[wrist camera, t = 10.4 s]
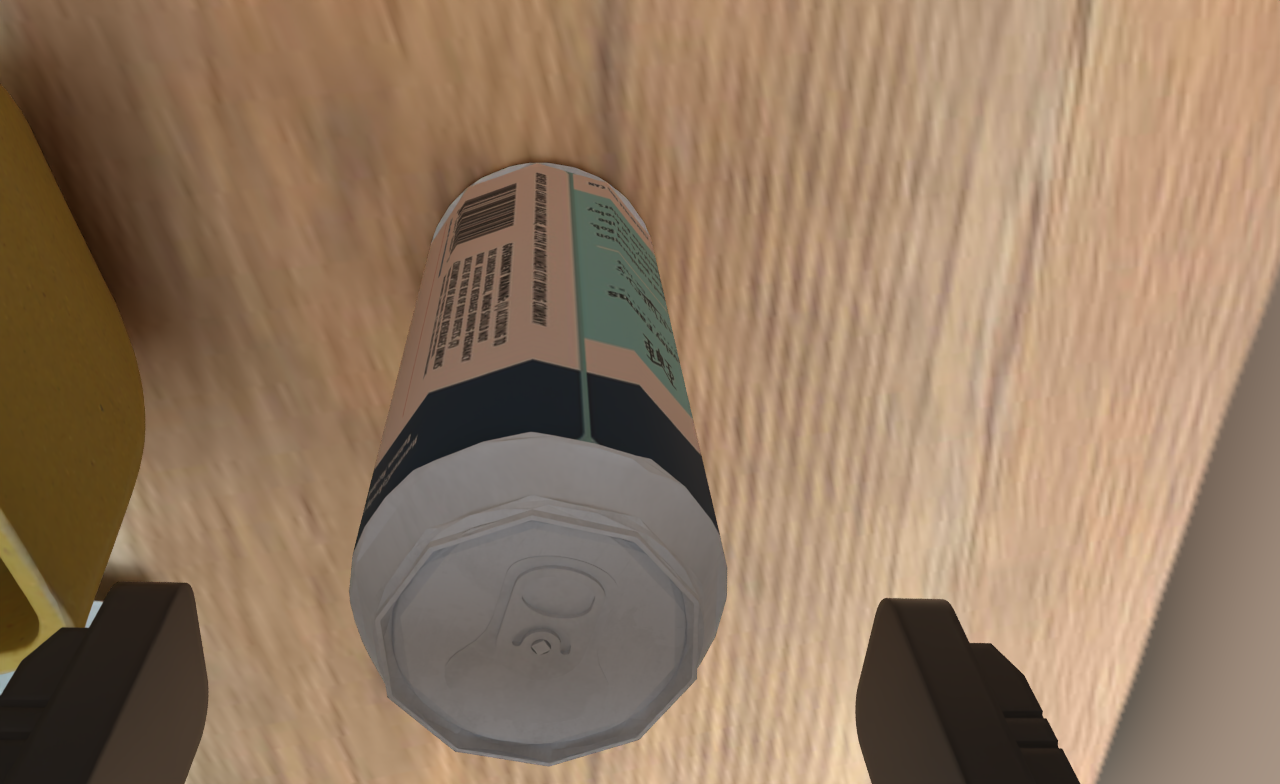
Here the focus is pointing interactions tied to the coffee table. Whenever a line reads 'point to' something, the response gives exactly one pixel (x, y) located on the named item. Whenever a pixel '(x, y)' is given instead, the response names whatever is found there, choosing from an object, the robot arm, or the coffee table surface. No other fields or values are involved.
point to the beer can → (539, 483)
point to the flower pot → (56, 405)
